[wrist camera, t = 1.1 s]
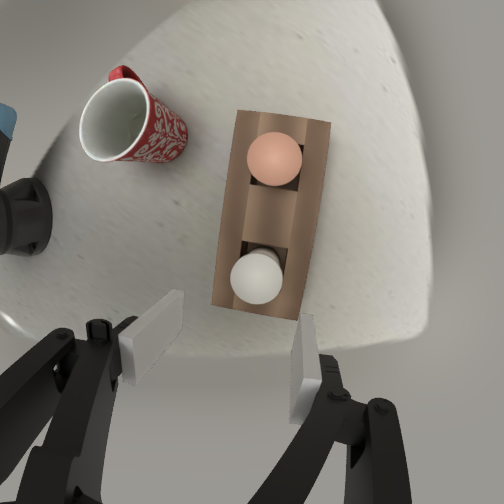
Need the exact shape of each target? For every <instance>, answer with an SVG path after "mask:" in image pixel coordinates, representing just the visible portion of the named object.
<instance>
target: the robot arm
mask: <svg viewBox="0 0 504 504" xmlns="http://www.w3.org/2000/svg"><path fill="white" fill-rule="evenodd" d="M16 119H17V114H16V111H15V110H14V109H13V108H11V107H9V106H7V105H5V104H2V103H0V183H1V178H2V173H3V169H4V165H5V161H6V157H7V153H8V149H9V146H10V142H11V141H12V134H13V130H14V127H15V123H16ZM51 227H52V210H51V204H50V199H49V196H48V193H47V191H46V189H45V187H44V186H43V184H42V183H41V182H40V181H39V180H37V179H35V178H22V179H19V180H18V181H16V182H13V183H11V184H9V185H7V186H5V187H3V188H1V189H0V255H2V254H12V255H19V256H25V257H27V256H32V255H36V254H38V253H40V252H41V251H42V250H43V249H44V248H45V247H46V245H47V243H48V240H49V237H50V233H51ZM183 304H184V291H181V290H176V289H172V290H171V291H170V292H169V293H168V294H166V295H165V296H164V297H163V298H162V299H160V300H159V301H158V302H157V303H155V304H154V305H153V306H152V307H151V308H149V309H148V310H147V311H146V312H145V313H143V314H142V315H141V316H140V317H137V316H132V317H129V318H126V319H125V320H123V321H122V322H121V323H120V324H118V325H117V326H116V327H115V328H113V329H112V324H111V322H109V321H107V320H104V319H93V320H90V321H88V322H87V323H86V330H87V338H88V339H87V341H85V340H79V339H75V336H74V332H73V331H72V330H70V329H67V328H58V329H55V330H53V331H52V332H51V333H49V334H48V335H47V336H46V337H44V338H43V339H42V340H41V341H40V342H39V343H37V344H36V345H35V346H34V347H33V348H31V349H30V350H29V351H28V352H26V353H25V354H24V355H23V356H22V357H21V358H19V359H18V360H17V361H16V362H15V363H14V364H13V365H11V366H10V367H9V368H8V369H7V370H6V371H5V372H3V373H2V374H1V375H0V485H1V484H2V483H3V482H4V481H5V480H6V479H7V478H8V476H9V475H10V474H11V472H12V471H13V470H14V468H15V467H16V466H17V464H18V463H19V461H20V460H21V458H22V457H23V456H24V454H25V453H26V451H27V450H28V449H29V447H30V446H31V444H32V443H33V442H34V440H35V439H36V437H37V436H38V435H39V433H40V432H41V430H42V429H43V428H44V427H45V425H46V424H47V423H48V421H49V420H50V418H51V417H52V416H53V418H52V420H51V423H50V426H49V428H48V431H47V434H46V437H45V440H44V443H43V445H42V446H41V447H39V446H34V447H33V448H32V450H31V452H30V454H29V457H28V460H27V463H26V466H25V470H24V473H23V477H22V480H21V483H20V487H19V490H18V494H17V498H16V501H13V502H2V503H0V504H102V501H101V494H100V491H101V481H102V473H103V465H104V458H105V451H106V445H107V439H108V432H109V427H110V422H111V416H112V411H113V406H114V401H115V397H116V392H117V388H118V378H117V377H118V376H119V375H120V374H121V373H122V377H123V382H126V383H128V384H131V385H134V386H137V385H138V384H139V383H140V381H141V380H142V379H143V378H144V376H145V375H146V374H147V372H148V371H149V370H150V369H151V368H152V366H153V365H154V364H155V363H156V361H157V360H158V359H159V358H160V356H161V355H162V354H163V353H164V351H165V350H166V349H167V348H168V346H169V345H170V344H171V343H172V341H173V340H174V339H175V338H176V336H177V335H178V334H179V333H180V331H181V330H182V322H183ZM55 365H57V369H56V370H55V371H54V370H53V369H54V367H55ZM338 367H339V366H338V362H337V361H336V359H335V358H334V357H333V356H330V355H322V354H318V347H317V340H316V333H315V326H314V320H313V315H309V314H303V313H300V317H299V322H298V326H297V330H296V335H295V339H294V343H293V347H292V351H291V385H290V386H291V387H290V411H289V423H290V424H298V425H302V426H301V428H300V429H299V431H298V432H297V434H296V435H295V437H294V439H293V440H292V442H291V443H290V445H289V446H288V448H287V450H286V451H285V453H284V454H283V456H282V457H281V459H280V460H279V461H278V463H277V465H276V466H275V467H274V469H273V470H272V472H271V473H270V474H269V476H268V477H267V479H266V480H265V481H264V483H263V484H262V486H261V487H260V488H259V489H258V491H257V492H256V493H255V495H254V496H253V497H252V499H251V500H250V501H249V502H248V504H304V502H305V500H306V498H307V496H308V494H309V493H310V491H311V489H312V487H313V485H314V483H315V481H316V479H317V477H318V475H319V473H320V471H321V469H322V467H323V465H324V463H325V461H326V459H327V456H328V454H329V452H330V450H331V448H332V445H333V443H334V441H337V442H339V443H343V444H346V445H347V460H346V461H347V462H346V482H345V496H344V504H412V500H411V490H410V482H409V475H408V468H407V462H406V456H405V451H404V445H403V440H402V434H401V429H400V424H399V420H398V415H397V411H396V408H395V405H394V404H393V403H392V402H390V401H389V400H387V399H383V398H374V399H371V400H370V401H369V402H368V404H363V403H360V402H357V401H354V400H352V399H351V395H350V394H349V392H348V391H347V390H346V389H344V388H343V384H342V380H341V375H340V371H339V368H338Z"/></svg>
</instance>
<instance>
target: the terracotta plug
mask: <svg viewBox="0 0 504 504" xmlns="http://www.w3.org/2000/svg"><path fill="white" fill-rule="evenodd" d="M247 163H248V167H249V170H250V172H251V173H252V175H253V176H254V177H255V178H256V179H257V180H259V181H260V182H262V183H264V184H267V185H271V186H279V185H284V184H286V183H288V182H290V181H291V180H293V179H294V178H295V177H296V176H297V174H298V173H299V171H300V168H301V165H302V153H301V150H300V148H299V146H298V144H297V143H296V142H295V140H294V139H292V138H291V137H290V136H288V135H286V134H283V133H279V132H270V133H266V134H263V135H261V136H259V137H258V138H257V139H255V140H254V142H253V143H252V144H251V146H250V148H249V150H248V154H247Z"/></svg>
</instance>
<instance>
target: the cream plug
mask: <svg viewBox="0 0 504 504" xmlns="http://www.w3.org/2000/svg"><path fill="white" fill-rule="evenodd" d="M280 265H281V261H280V257H279V255H278V253H277V252H276V251H275V250H274V249H272V248H270V247H268V246H258V247H255V248H253V249H252V250H251V251H250V252H249V253H248V254H246V255H244V256H243V257H241V258H240V259H239V260H238V261H237V262H236V264H235V265H234V266H233V268H232V271H231V275H230V281H231V286H232V288H233V290H234V292H235V294H236V295H237V296H238V297H239V298H240V299H242V300H243V301H245V302H248V303H251V304H264V303H267V302H269V301H271V300H272V299H274V298H275V297H276V296H277V295H278V293H279V291H280V289H281V287H282V280H283V275H282V270H281V268H280Z"/></svg>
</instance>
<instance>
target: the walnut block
mask: <svg viewBox="0 0 504 504" xmlns="http://www.w3.org/2000/svg"><path fill="white" fill-rule="evenodd" d="M330 129H331V122H325V121H320V120H314V119H308V118H302V117H296V116H289V115H282V114H274V113H265V112H256V111H245V110H237V116H236V122H235V129H234V135H233V141H232V148H231V154H230V161H229V168H228V174H227V181H226V189H225V196H224V203H223V211H222V218H221V226H220V234H219V242H218V250H217V259H216V267H215V276H214V285H213V295H212V304H211V305H214V306H219V307H224V308H229V309H234V310H239V311H245V312H250V313H255V314H261V315H267V316H272V317H278V318H284V319H290V320H296V321H297V320H298V316H299V312H300V307H301V302H302V298H303V293H304V288H305V283H306V278H307V274H308V268H309V263H310V258H311V253H312V248H313V242H314V237H315V231H316V225H317V219H318V213H319V207H320V201H321V195H322V188H323V182H324V175H325V168H326V160H327V153H328V145H329V137H330ZM270 132H279V133H283V134H286V135H288V136H290V137H291V138H292V139H294V140H295V142H296V143H297V144H298V146H299V148H300V150H301V153H302V165H301V168H300V171H299V173H298V174H297V176H296V177H295V178H294V179H293V180H291V181H290V182H288V183H286V184H284V185H279V186H271V185H267V184H264V183H262V182H260V181H259V180H257V179H256V178H255V177H254V176H253V175H252V173H251V172H250V170H249V167H248V163H247V154H248V150H249V148H250V146H251V144H252V143H253V142H254V140H255V139H257V138H258V137H259V136H261V135H263V134H266V133H270ZM258 246H268V247H270V248H272V249H274V250H275V251H276V252H277V253H278V255H279V257H280V261H281V265H280V268H281V270H282V275H283V280H282V287H281V289H280V291H279V293H278V295H277V296H276V297H275V298H274V299H272V300H271V301H269V302H267V303H264V304H251V303H248V302H245V301H243V300H242V299H240V298H239V297H238V296H237V295H236V294H235V292H234V290H233V288H232V286H231V281H230V275H231V271H232V268H233V266H234V265H235V264H236V262H237V261H238V260H239V259H240V258H241V257H243V256H244V255H246V254H248V253H249V252H250V251H251V250H252V249H253V248H255V247H258Z"/></svg>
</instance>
